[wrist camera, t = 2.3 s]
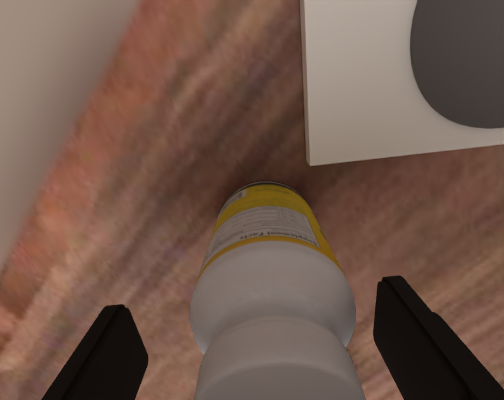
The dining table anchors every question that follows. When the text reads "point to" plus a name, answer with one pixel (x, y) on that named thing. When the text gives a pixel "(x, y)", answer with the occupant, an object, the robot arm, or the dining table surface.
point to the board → (369, 86)
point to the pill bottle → (272, 304)
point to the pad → (460, 59)
